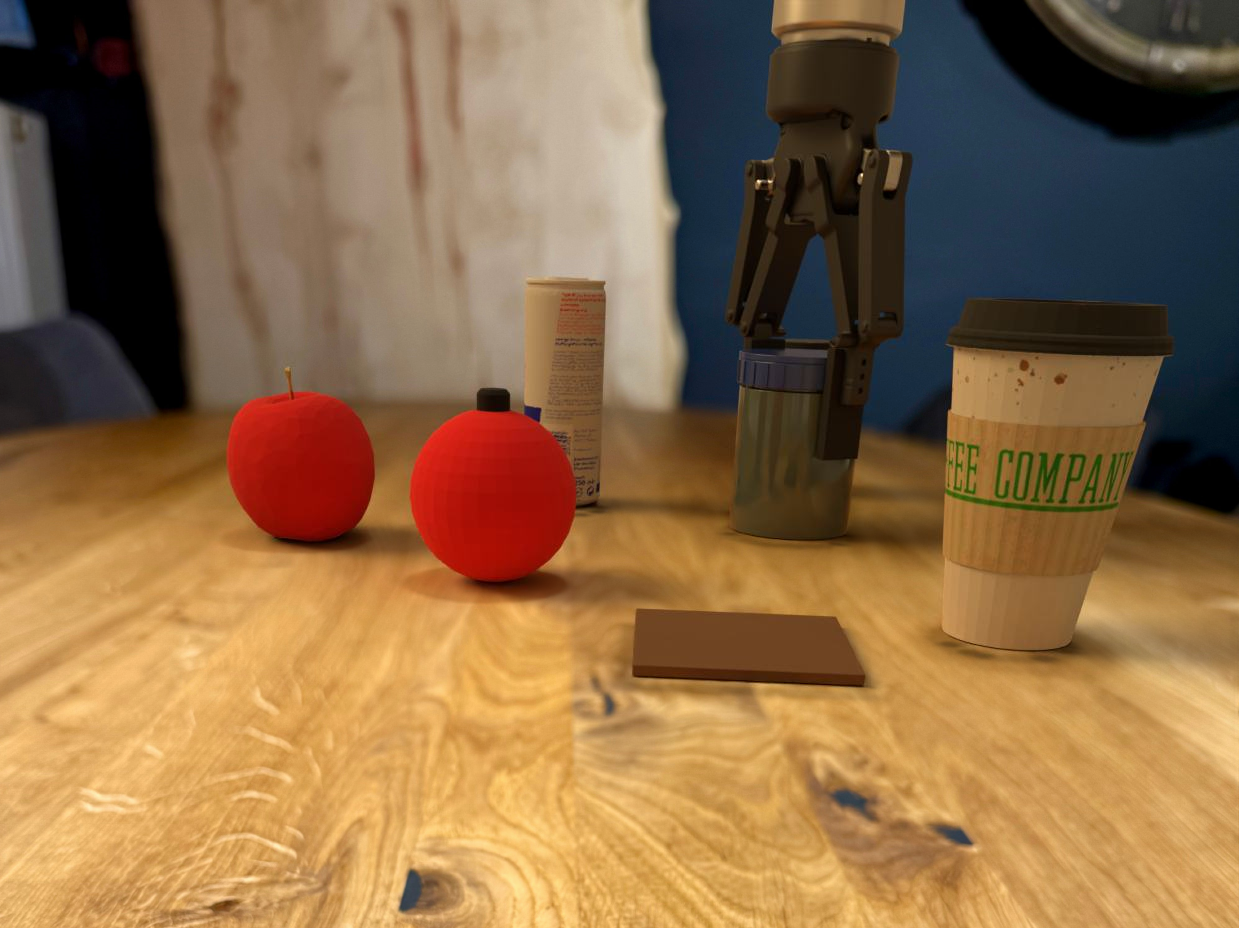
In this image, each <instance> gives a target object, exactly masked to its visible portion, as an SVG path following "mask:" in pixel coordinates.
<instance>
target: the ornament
mask: <svg viewBox="0 0 1239 928" xmlns="http://www.w3.org/2000/svg"><path fill="white" fill-rule="evenodd" d="M576 498H577V497H576V482H575V477H574V474H573V470H572V466H571V463H570V461H569V459H568V457H567V455H566V453H565V451H564V449H563V448H562V446H561V445H560V444H559V442H558V441H557V440H556V438H555V437H554V436H553V435H552V434H551V433H550V432H549V431H548V430H547V429H546V428H544V427H543V426H542V425H541V424H540V423H538V422H537V421H535V420H533V419H532V418H530V417H528V416H526V415H524V413H521V412H518V411H515V410H512V409H511V393H510V391H509V390H508V389H507V388H503V387H481V388H480V389H479V390H478V391H476V409H472V410H468V411H465V412H462V413H460V414H457V415H456V416H454V417H452V418H450V419H448V420H447V421H445V422H444V423H443V424H442V425H441V426H439V428H437V429H436V430H435V431H433V433H432V434H431V435H430V437H429V438H428V439H427V440H426V442H425V443H424V445H422V447H421V449H420V451H419V454H418V455H417V457H416V460H415V462H414V465H413V469H412V473H411V476H410V485H409V501H410V508H411V514H412V518H413V520H414V522H415V526H416V529H417V532H418V534H419V535H420V537H421V539H422V542H424V544H425V546H426V547H427V548H428V550H429V551H430V552H431V553H432V554H433V556H434V557H435V558H436V559H437V560H438V561H440V562H441V563H443V564H444V565H445V566H446V567H448V569H450V570H452V571H453V572H455V573H458V574H459V575H461V576H463V577H466V578H468V579H471V580H472V579H473V580H477V581H482V582H487V583H488V582H489V583H501V582H509V581H512V580H519V579H521V578H524V577H525V576H527V575H531V574H532V573H534V572H536V571H538V570H539V569H540V568H542V567H543V566H544V565H546V564H547V563H548V562H550V560H552V558H554V557H555V555H556V554H557V552H558V551H560V549H561V548H562V547H563V545H564V543H565V541H566V540H567V538H568V536H569V534H570V532H571V529H572V525H573V522H574V519H575V516H576V515H575V514H576V507H577V506H576Z"/></svg>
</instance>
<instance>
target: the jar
mask: <svg viewBox="0 0 1239 928" xmlns="http://www.w3.org/2000/svg"><path fill="white" fill-rule="evenodd" d="M822 399H823V391H818V390H793V389H777V388H766V387H757V386H750V385H744V384H741V383H740V385H739V394H738V406H737V419H736V420H737V421H736V432H735V433H736V435H735V446H734V459H733V469H732V470H733V471H732V472H733V473H732V484H731V494H730V495H731V496H730V508H729V519H728V520H729V521H728V526H729V528H731V529H732V530H734V531H735V532H738V533H740V534H745V535H749V536H754V537H760V538H768V539H778V540H793V541H795V540H796V541H813V540H814V541H817V540H828V539H829V540H830V539H834V538H839V537H843V536H845V535H846V534H847V532H848V527H849V519H850V509H851V501H852V493H853V484H854V475H855V467H856V460H857V459H845V460H824V461H823V460H819V459H816V455H817V446H818V436H819V427H820V418H821V408H822Z"/></svg>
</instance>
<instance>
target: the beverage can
mask: <svg viewBox="0 0 1239 928" xmlns="http://www.w3.org/2000/svg"><path fill="white" fill-rule="evenodd" d="M525 283H527V285H526V288H525V291H524V298H525V299H524V385H523V386H524V391H523V392H524V393H523V394H524V397H523V398H524V399H523V401H524V402H523V403H524V404H523V405H524V406H523V414H524V415H526V416H528V417H530V418H532V419H533V420H535V421H537V422H538V423H540V424H541V425H542V426H543V427H544V428H546V429H547V430H548V431H549V432H550V433H551V434H552V435H553V436H554V437H555V438H556V440H557V441H558V442H559V444H560V445H561V446H562V448H563V449H564V451H565V453H566V455H567V457H568V459H569V461H570V463H571V466H572V470H573V474H574V477H575V482H576V497H577V498H576V507H583V506H587V505H589V504H592V503H594V502H596V501H597V500H599V498H600V496H601V493H600V491H601V489H600V488H601V464H602V463H601V459H602V432H603V431H602V429H603V402H604V401H603V400H604V377H605V376H604V374H605V373H604V372H605V345H606V344H605V343H606V316H607V315H606V314H607V310H606V309H607V293H606V290H605V286H606V280H603V279H591V278H590V279H589V278H588V277H569V276H546V277H526V278H525Z"/></svg>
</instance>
